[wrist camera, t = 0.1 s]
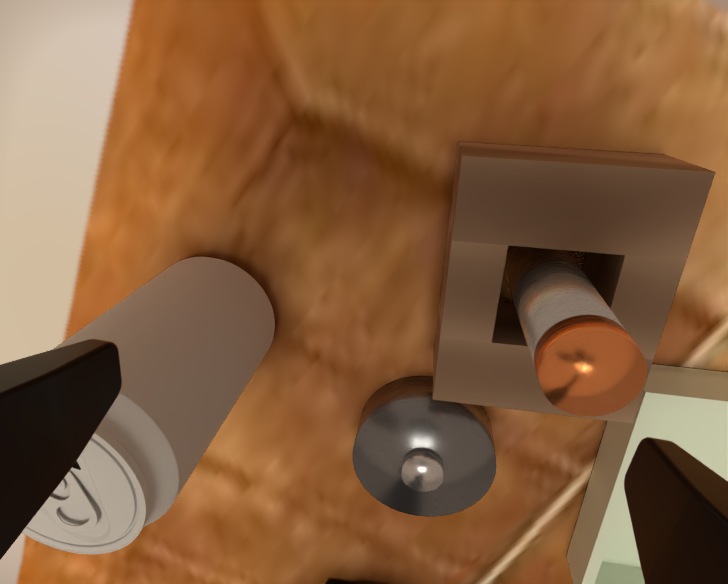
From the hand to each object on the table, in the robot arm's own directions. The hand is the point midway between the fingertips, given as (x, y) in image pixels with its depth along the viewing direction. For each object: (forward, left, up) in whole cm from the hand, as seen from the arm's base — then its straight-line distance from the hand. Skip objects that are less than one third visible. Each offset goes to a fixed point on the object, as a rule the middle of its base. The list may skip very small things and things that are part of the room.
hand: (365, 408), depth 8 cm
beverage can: (-6, +9, -15) cm, 19 cm away
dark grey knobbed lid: (-12, -2, -14) cm, 19 cm away
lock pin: (-2, -6, -14) cm, 16 cm away
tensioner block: (-2, -6, -14) cm, 16 cm away
